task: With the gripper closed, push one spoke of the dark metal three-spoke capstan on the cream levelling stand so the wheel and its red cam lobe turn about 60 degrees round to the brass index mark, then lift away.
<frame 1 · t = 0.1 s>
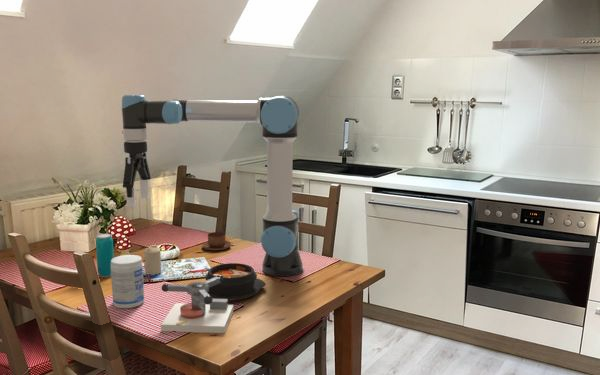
hand: (138, 202, 186), 28 cm above the table, fingers open, 13 cm apart
candle: (153, 273, 198), on the table
stand: (198, 320, 158), on the table
beverage can: (106, 276, 194), on the table
casserole: (231, 294, 179), on the table
capstan: (190, 298, 157), point 7 cm above the table, hinge at 0.0°
cup and saucer: (216, 248, 228), on the table
supplement tub: (128, 304, 170), on the table
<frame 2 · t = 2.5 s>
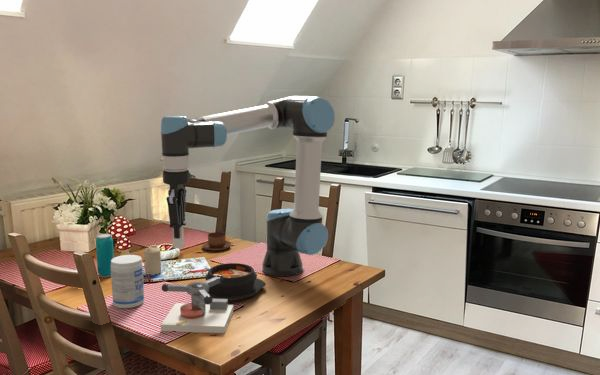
hand: (178, 247, 161), 20 cm above the table, fingers closed
nothing on the table moved.
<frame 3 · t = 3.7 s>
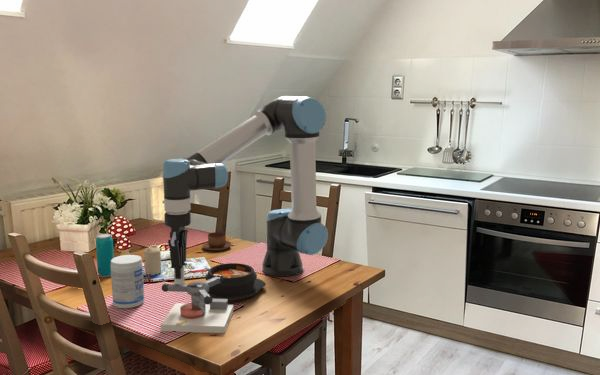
hand: (179, 287, 163), 8 cm above the table, fingers closed
nothing on the table moved.
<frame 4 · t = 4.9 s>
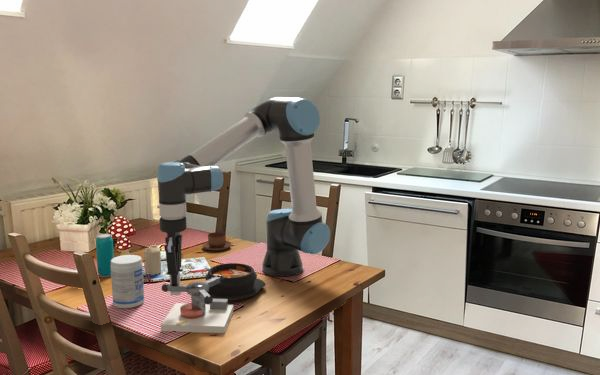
hand: (175, 294, 158), 8 cm above the table, fingers closed
capstan: (190, 298, 157), point 7 cm above the table, hinge at 0.4°, touching gripper
everything else where it was.
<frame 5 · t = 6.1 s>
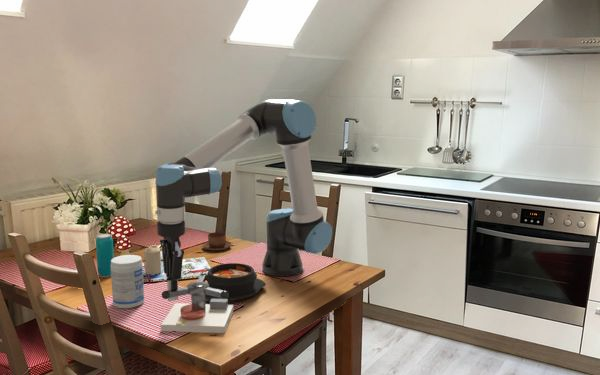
hand: (173, 299, 154), 8 cm above the table, fingers closed
capstan: (190, 300, 156), point 7 cm above the table, hinge at 33.9°, touching gripper
everything else where it was.
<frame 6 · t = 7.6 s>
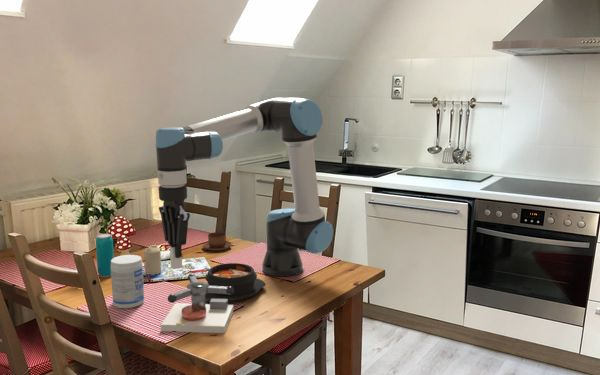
hand: (176, 267, 150), 18 cm above the table, fingers closed
capstan: (192, 301, 155), point 7 cm above the table, hinge at 55.1°
everything else where it was.
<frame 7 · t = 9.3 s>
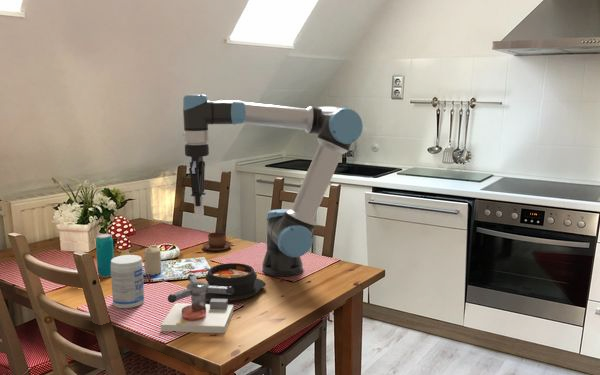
hand: (199, 215, 176), 26 cm above the table, fingers closed
nothing on the table moved.
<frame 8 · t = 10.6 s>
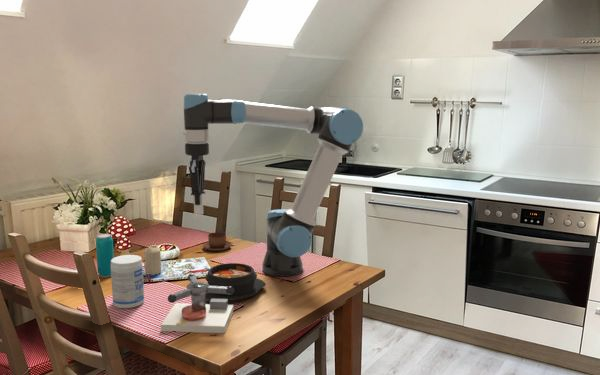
hand: (198, 213, 177), 26 cm above the table, fingers closed
nothing on the table moved.
at the end: capstan at +55° (first picture: +0°) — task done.
